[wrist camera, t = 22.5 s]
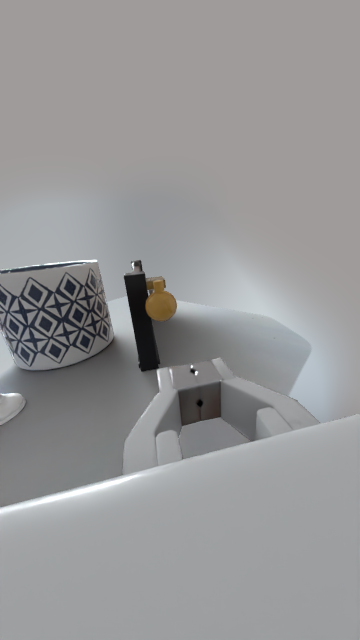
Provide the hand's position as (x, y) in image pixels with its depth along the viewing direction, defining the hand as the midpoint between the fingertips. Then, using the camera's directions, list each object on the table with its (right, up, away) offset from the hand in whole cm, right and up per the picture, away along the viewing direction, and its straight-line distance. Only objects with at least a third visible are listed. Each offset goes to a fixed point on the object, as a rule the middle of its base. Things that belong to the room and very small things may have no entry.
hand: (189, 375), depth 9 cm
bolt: (-3, +4, +16) cm, 16 cm away
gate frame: (-6, +1, +31) cm, 32 cm away
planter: (-21, -3, +27) cm, 34 cm away
